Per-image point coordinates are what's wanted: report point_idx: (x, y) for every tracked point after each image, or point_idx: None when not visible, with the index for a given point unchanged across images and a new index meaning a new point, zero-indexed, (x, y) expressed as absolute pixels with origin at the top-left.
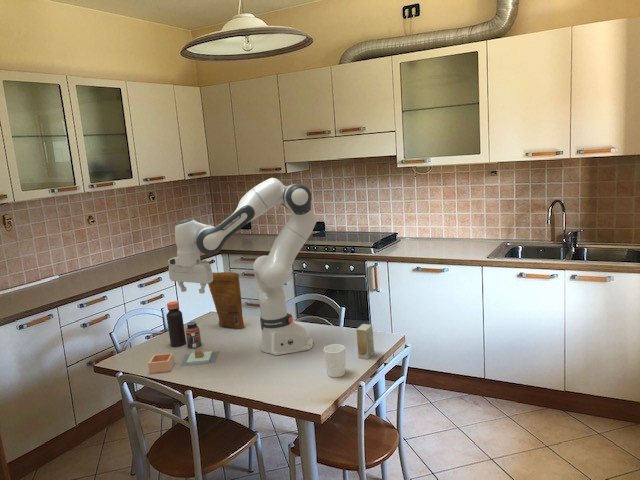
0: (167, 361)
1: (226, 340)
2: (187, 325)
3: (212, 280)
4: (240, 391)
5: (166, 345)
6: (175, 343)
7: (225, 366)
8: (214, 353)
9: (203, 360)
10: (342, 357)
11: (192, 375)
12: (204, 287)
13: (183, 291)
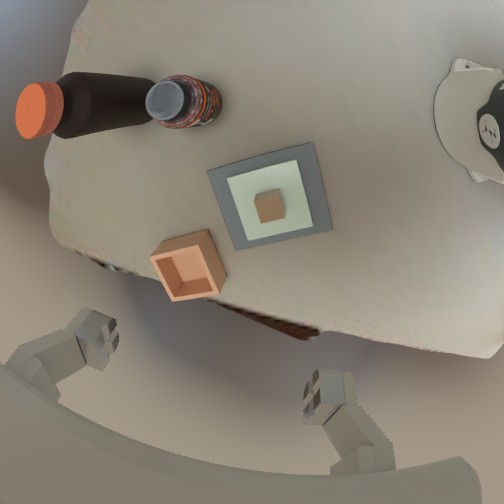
0: (216, 294)
1: (291, 42)
2: (154, 117)
3: (463, 471)
4: (412, 335)
5: None
6: (137, 124)
7: (366, 238)
8: (304, 160)
9: (297, 229)
10: None
11: (293, 286)
12: (364, 422)
13: (112, 344)
